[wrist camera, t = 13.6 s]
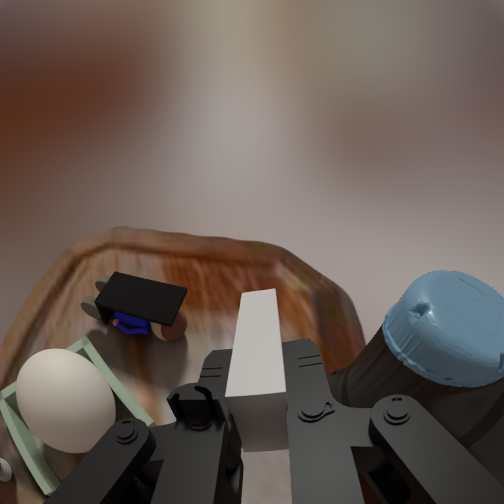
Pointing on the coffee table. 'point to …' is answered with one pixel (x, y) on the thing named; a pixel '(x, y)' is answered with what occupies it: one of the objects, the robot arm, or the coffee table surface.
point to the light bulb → (5, 471)
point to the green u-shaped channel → (22, 435)
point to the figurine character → (139, 305)
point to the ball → (65, 400)
